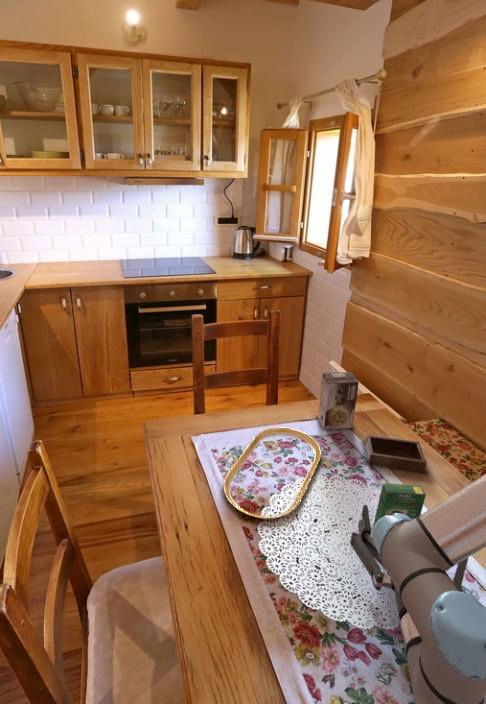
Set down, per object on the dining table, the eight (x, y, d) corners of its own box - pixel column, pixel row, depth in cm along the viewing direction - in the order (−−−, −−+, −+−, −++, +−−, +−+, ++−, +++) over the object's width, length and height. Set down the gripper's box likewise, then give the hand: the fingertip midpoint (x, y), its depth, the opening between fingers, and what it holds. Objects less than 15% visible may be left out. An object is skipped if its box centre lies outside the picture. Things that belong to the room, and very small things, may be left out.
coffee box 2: (409, 531, 88) (421, 483, 83) (414, 543, 85) (427, 494, 80) (371, 529, 88) (381, 481, 83) (375, 541, 85) (385, 492, 81)
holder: (424, 474, 104) (426, 462, 103) (368, 465, 107) (370, 454, 106) (416, 452, 112) (418, 441, 111) (364, 445, 115) (366, 434, 114)
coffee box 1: (345, 417, 128) (351, 371, 122) (352, 429, 122) (360, 382, 116) (316, 417, 127) (322, 372, 121) (322, 430, 121) (328, 382, 115)
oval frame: (328, 444, 115) (328, 439, 114) (286, 536, 86) (286, 530, 85) (266, 424, 123) (267, 420, 123) (209, 502, 94) (209, 497, 94)
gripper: (339, 620, 67) (334, 518, 86) (508, 658, 62) (462, 541, 82) (345, 588, 64) (338, 491, 84) (521, 625, 59) (470, 512, 79)
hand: (399, 515), depth 83 cm, fingers open, 13 cm apart
